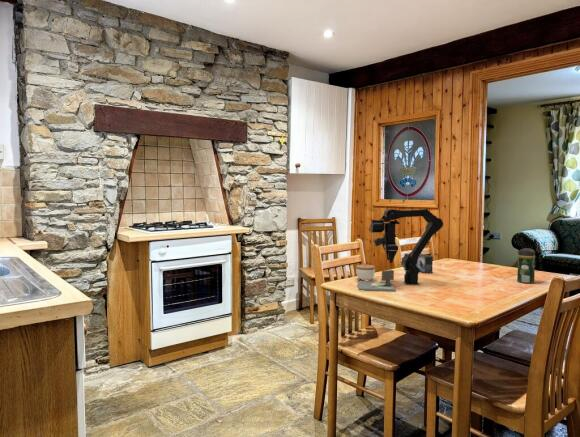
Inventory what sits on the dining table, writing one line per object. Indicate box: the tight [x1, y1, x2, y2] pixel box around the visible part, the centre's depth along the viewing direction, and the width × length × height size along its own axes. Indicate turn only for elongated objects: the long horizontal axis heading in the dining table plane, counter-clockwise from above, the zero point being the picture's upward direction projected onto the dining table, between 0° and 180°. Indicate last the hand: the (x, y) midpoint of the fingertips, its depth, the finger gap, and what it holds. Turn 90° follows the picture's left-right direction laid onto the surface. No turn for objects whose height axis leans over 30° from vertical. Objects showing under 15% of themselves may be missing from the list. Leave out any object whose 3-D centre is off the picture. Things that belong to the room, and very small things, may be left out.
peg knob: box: [371, 269, 395, 286], centre depth 212 cm, size 13×4×7 cm, turn 114°
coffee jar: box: [516, 247, 536, 284], centre depth 227 cm, size 10×8×19 cm
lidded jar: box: [355, 262, 376, 281], centre depth 233 cm, size 11×11×9 cm
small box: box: [416, 253, 434, 275], centre depth 257 cm, size 11×6×10 cm, turn 25°
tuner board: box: [356, 280, 397, 293], centre depth 215 cm, size 18×18×1 cm
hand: (389, 261), depth 222 cm, fingers open, 9 cm apart
